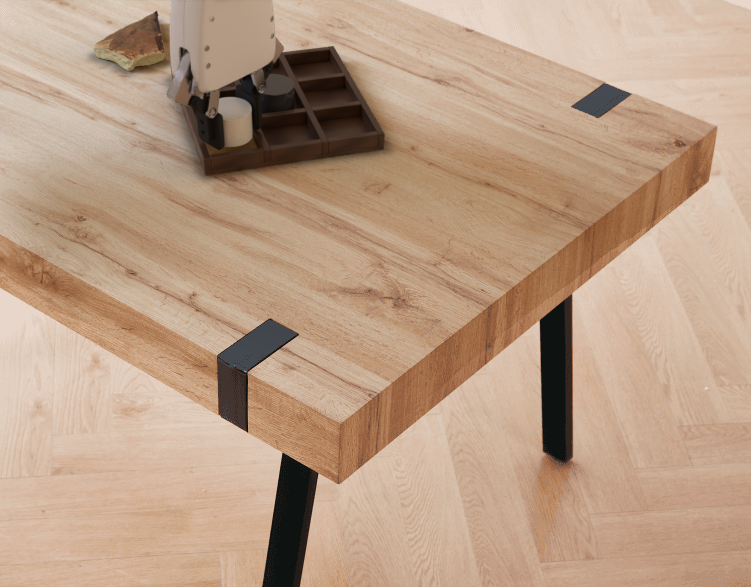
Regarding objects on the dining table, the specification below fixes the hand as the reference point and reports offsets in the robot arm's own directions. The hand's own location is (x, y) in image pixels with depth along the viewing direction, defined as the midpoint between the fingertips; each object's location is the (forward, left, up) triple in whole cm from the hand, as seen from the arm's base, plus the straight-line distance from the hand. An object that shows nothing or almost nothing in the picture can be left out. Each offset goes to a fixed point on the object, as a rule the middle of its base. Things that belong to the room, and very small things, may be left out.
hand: (230, 132), depth 110 cm
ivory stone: (0, 0, 0) cm, 0 cm away
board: (+6, +6, -2) cm, 9 cm away
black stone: (+6, +6, -2) cm, 9 cm away
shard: (-7, +24, -3) cm, 25 cm away
